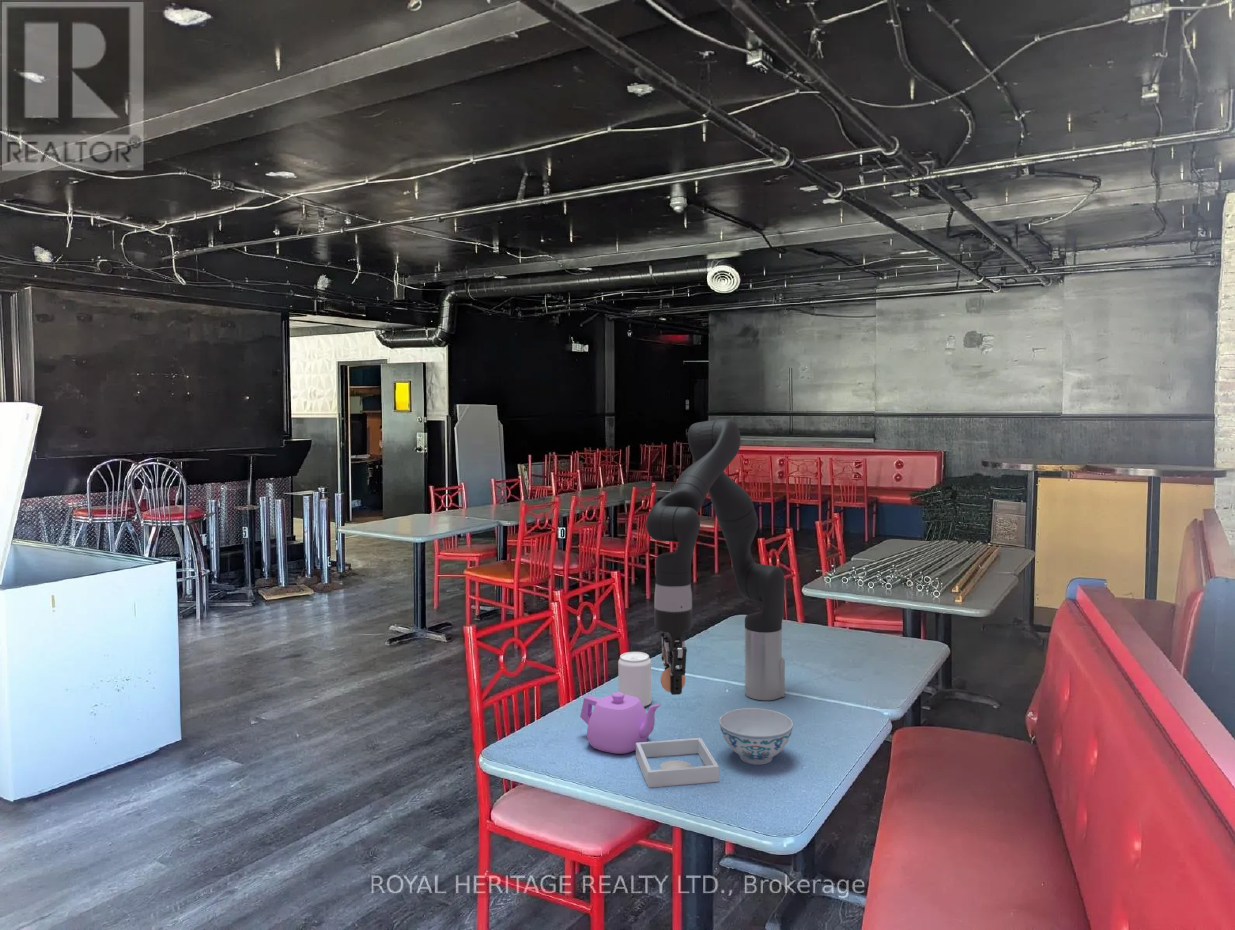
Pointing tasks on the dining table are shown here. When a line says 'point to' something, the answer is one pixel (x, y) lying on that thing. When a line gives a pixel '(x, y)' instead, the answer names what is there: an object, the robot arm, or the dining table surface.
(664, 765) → the disc
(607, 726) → the teapot
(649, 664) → the beverage can
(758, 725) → the chinaware
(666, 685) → the ball
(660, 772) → the grey square frame
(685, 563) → the robot arm
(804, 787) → the dining table surface
